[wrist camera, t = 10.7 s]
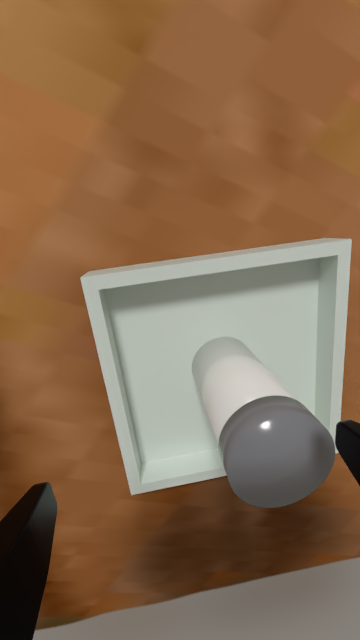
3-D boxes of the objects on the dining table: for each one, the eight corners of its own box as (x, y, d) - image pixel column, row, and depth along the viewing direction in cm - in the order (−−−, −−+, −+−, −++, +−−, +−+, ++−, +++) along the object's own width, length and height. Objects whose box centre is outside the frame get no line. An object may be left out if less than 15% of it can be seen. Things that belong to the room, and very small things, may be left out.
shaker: (193, 399, 21) (231, 517, 12) (186, 341, 19) (224, 429, 11) (254, 388, 21) (332, 495, 13) (252, 330, 20) (338, 407, 11)
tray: (132, 467, 23) (131, 495, 20) (88, 271, 18) (80, 277, 15) (318, 430, 24) (338, 452, 21) (325, 238, 19) (351, 239, 17)
